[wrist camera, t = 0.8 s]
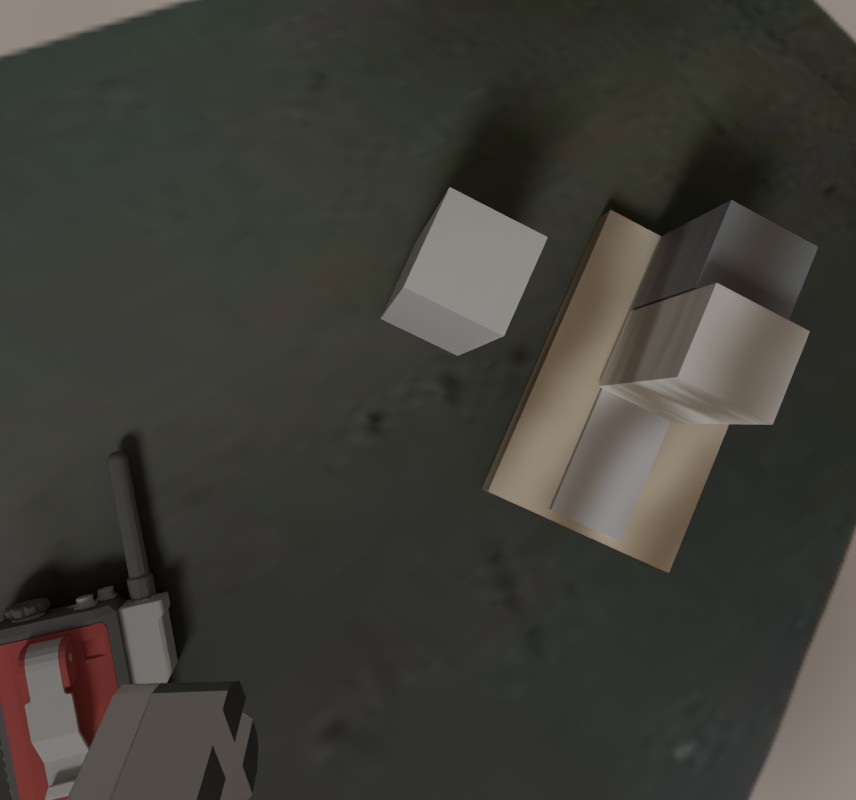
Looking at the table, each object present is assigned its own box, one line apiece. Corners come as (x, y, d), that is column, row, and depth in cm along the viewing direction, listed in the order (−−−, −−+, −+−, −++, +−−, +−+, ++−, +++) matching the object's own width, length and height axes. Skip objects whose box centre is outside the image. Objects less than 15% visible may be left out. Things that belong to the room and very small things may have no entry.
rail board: (481, 488, 42) (541, 512, 32) (600, 216, 44) (695, 151, 33) (656, 567, 44) (770, 615, 33) (764, 302, 46) (905, 266, 35)
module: (380, 318, 42) (403, 287, 32) (417, 238, 42) (451, 183, 32) (457, 355, 42) (503, 336, 32) (493, 276, 43) (549, 233, 33)
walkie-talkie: (210, 805, 40) (143, 446, 40) (198, 852, 35) (123, 450, 35) (41, 850, 38) (-30, 478, 38) (6, 906, 34) (-73, 486, 34)
